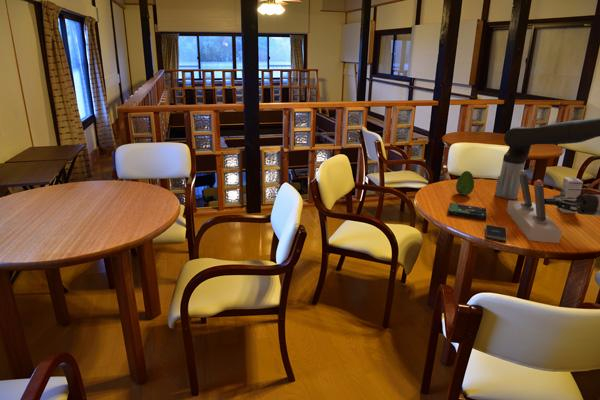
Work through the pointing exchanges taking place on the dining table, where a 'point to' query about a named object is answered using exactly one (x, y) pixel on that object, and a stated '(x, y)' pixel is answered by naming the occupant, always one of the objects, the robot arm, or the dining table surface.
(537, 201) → the outer lever
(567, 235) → the dining table surface
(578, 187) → the syrup box
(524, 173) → the inner lever
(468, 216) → the disk drive
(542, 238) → the box
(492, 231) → the external hard drive
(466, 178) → the avocado
